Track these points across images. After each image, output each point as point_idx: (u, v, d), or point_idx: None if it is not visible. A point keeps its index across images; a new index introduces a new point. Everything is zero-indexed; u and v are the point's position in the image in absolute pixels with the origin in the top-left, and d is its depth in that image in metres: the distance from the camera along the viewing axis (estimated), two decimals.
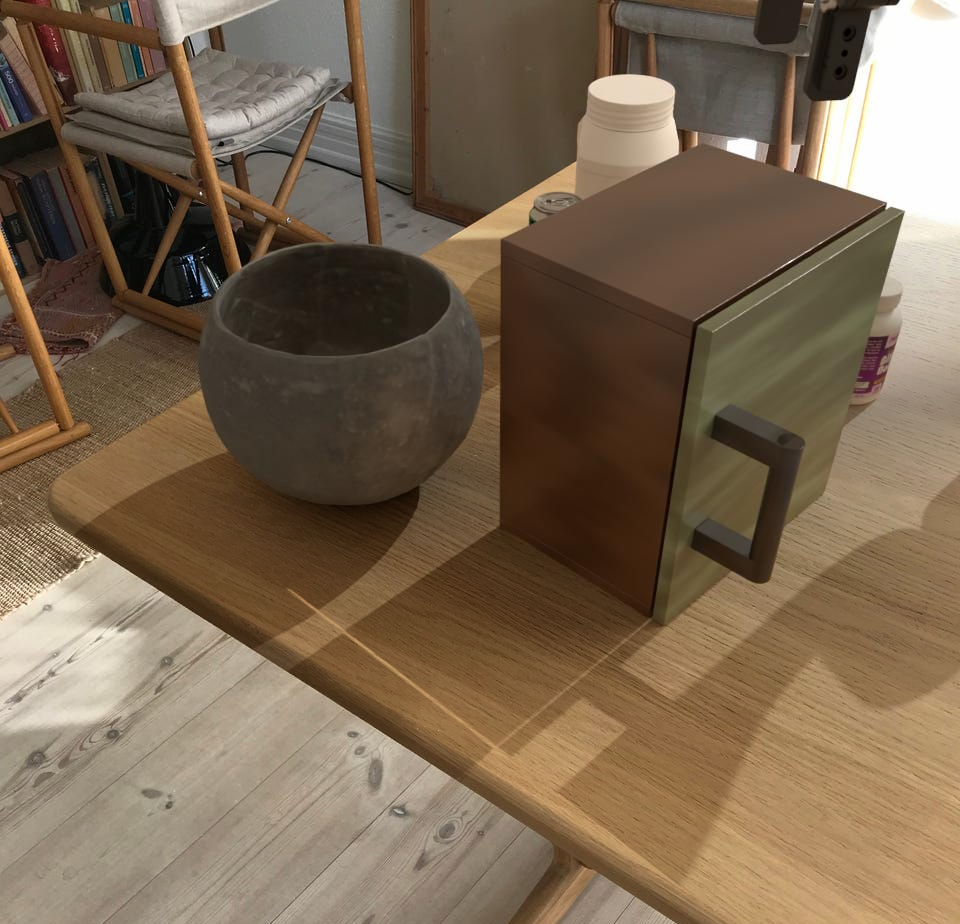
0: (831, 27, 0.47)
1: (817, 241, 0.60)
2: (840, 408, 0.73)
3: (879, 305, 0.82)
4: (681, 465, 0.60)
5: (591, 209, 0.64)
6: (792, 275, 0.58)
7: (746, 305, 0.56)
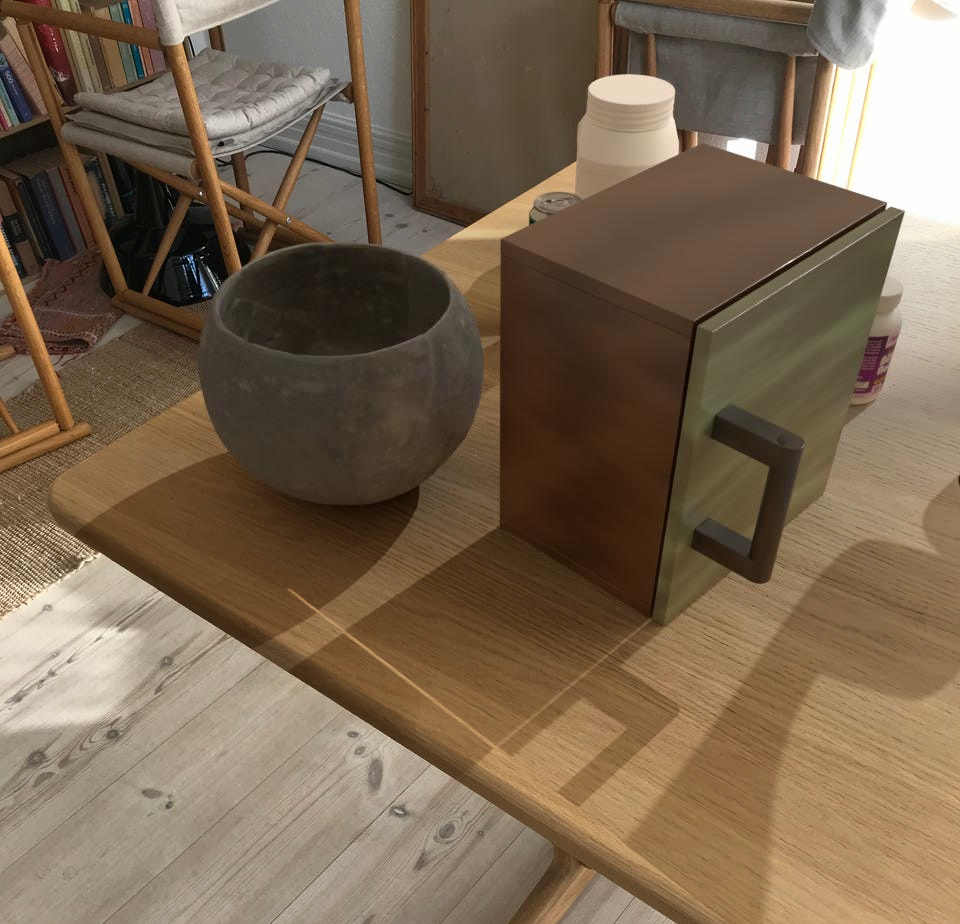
0: None
1: (817, 241, 0.60)
2: (840, 408, 0.73)
3: (879, 305, 0.82)
4: (681, 465, 0.60)
5: (591, 209, 0.64)
6: (792, 275, 0.58)
7: (746, 305, 0.56)
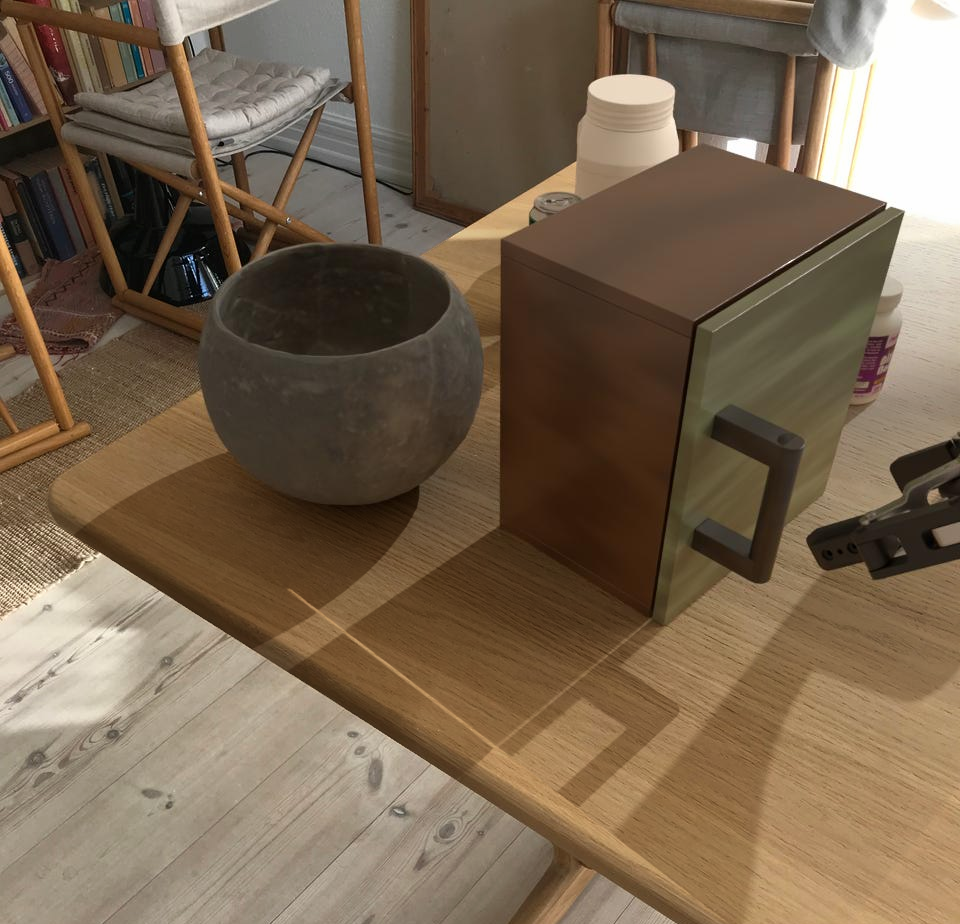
0: None
1: (817, 241, 0.60)
2: (840, 408, 0.73)
3: (879, 305, 0.82)
4: (681, 465, 0.60)
5: (591, 209, 0.64)
6: (792, 275, 0.58)
7: (746, 305, 0.56)
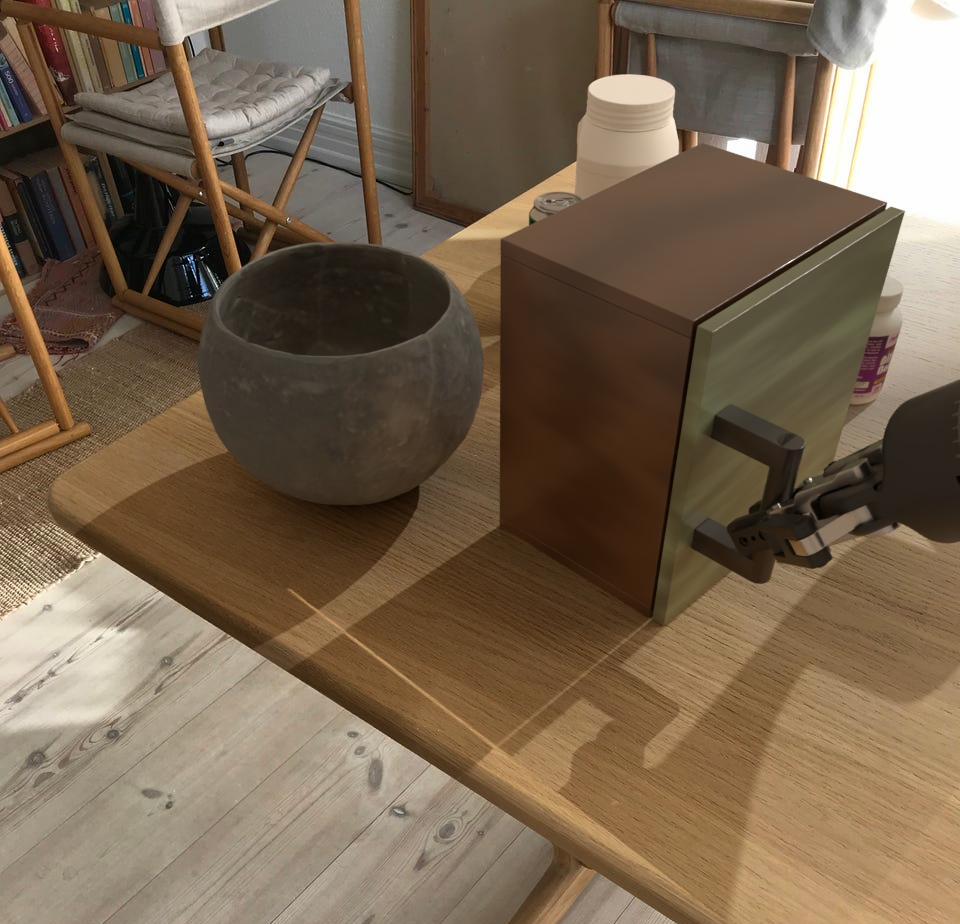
0: None
1: (817, 241, 0.60)
2: (840, 408, 0.73)
3: (879, 305, 0.82)
4: (682, 465, 0.60)
5: (591, 209, 0.64)
6: (792, 275, 0.58)
7: (746, 305, 0.56)
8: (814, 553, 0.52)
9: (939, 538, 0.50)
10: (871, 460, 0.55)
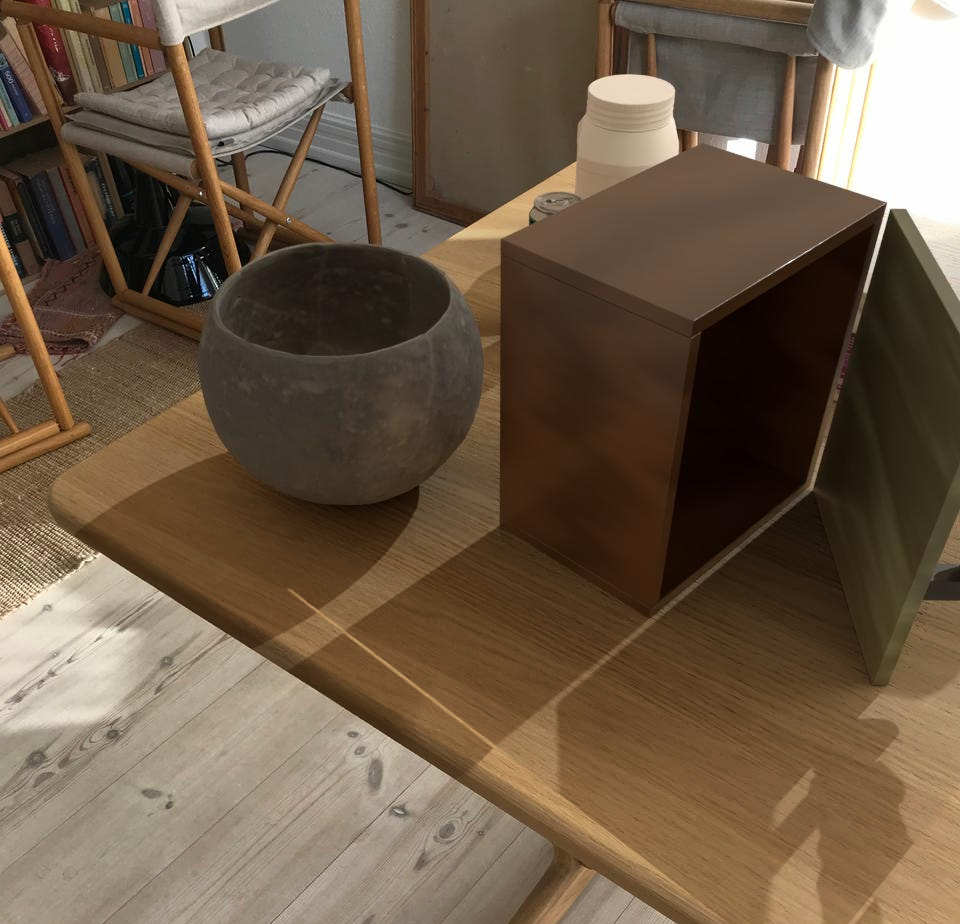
0: None
1: (817, 241, 0.60)
2: None
3: None
4: (942, 527, 0.56)
5: (591, 209, 0.64)
6: (954, 304, 0.56)
7: None
8: None
9: None
10: None
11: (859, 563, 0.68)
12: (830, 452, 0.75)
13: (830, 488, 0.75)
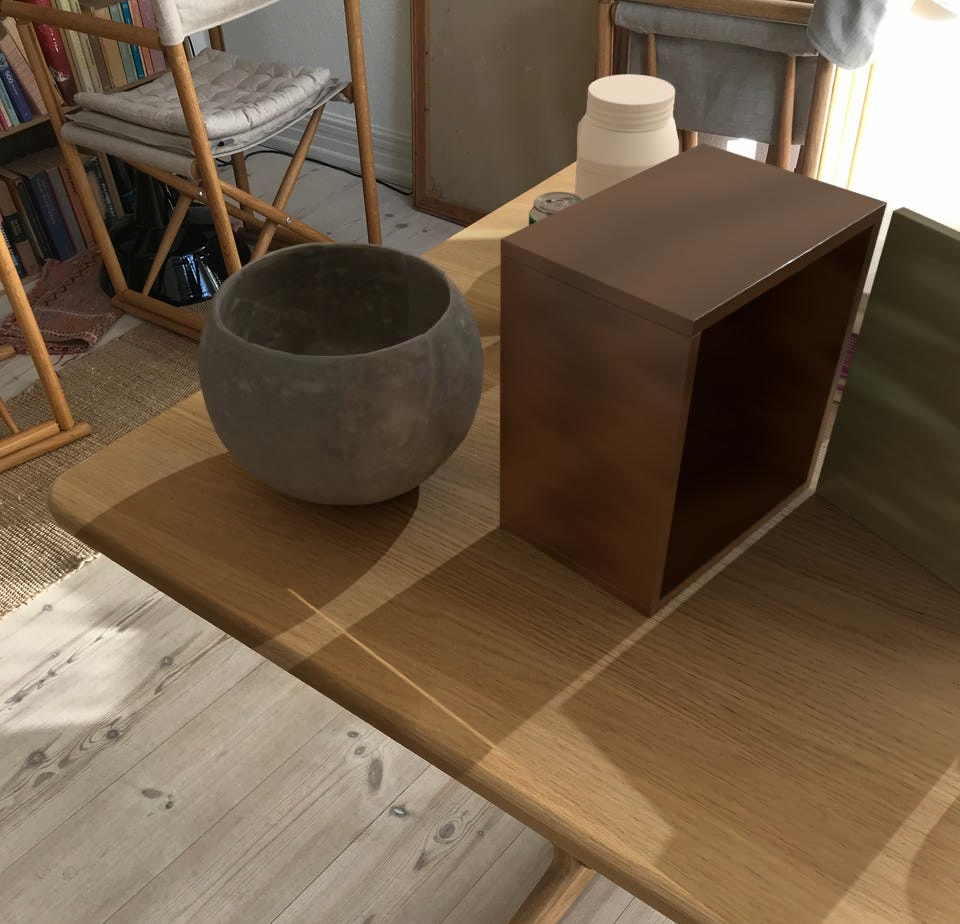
0: None
1: (817, 241, 0.60)
2: None
3: None
4: None
5: (591, 209, 0.64)
6: None
7: None
8: None
9: None
10: None
11: None
12: (845, 452, 0.75)
13: (858, 485, 0.75)
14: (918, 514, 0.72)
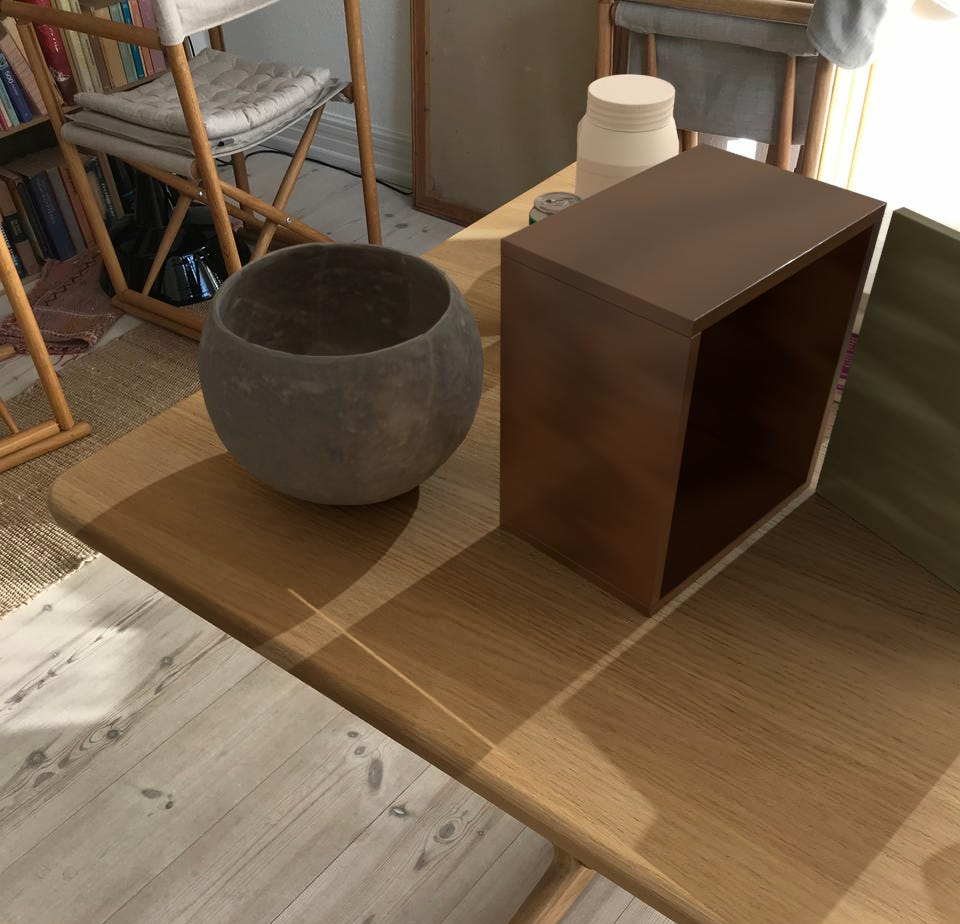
0: None
1: (817, 241, 0.60)
2: None
3: None
4: None
5: (591, 209, 0.64)
6: None
7: None
8: None
9: None
10: None
11: None
12: (845, 452, 0.75)
13: (858, 485, 0.75)
14: (918, 514, 0.72)
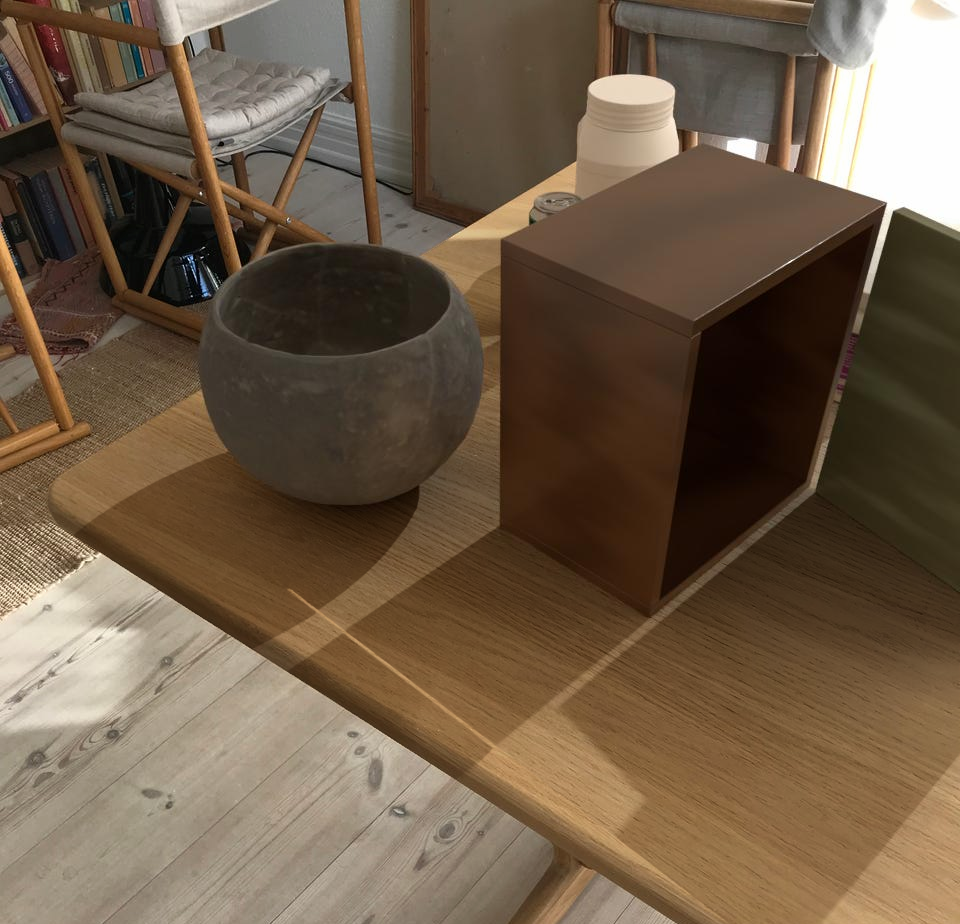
0: None
1: (817, 241, 0.60)
2: None
3: None
4: None
5: (591, 209, 0.64)
6: None
7: None
8: None
9: None
10: None
11: None
12: (845, 452, 0.75)
13: (858, 485, 0.75)
14: (918, 514, 0.72)
